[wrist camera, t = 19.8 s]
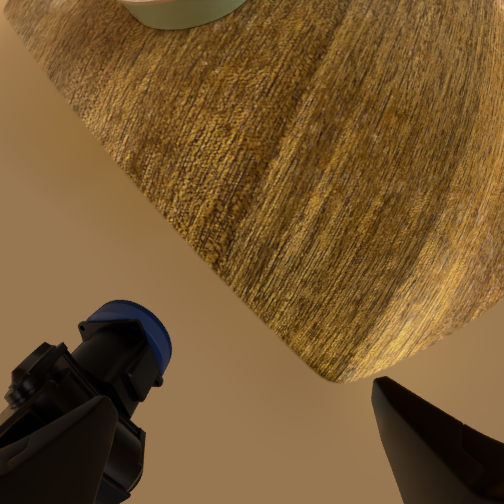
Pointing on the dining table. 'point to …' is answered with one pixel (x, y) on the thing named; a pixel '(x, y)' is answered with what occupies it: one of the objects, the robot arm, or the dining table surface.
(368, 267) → the dining table surface
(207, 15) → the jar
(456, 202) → the dining table surface
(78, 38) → the dining table surface
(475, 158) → the dining table surface
